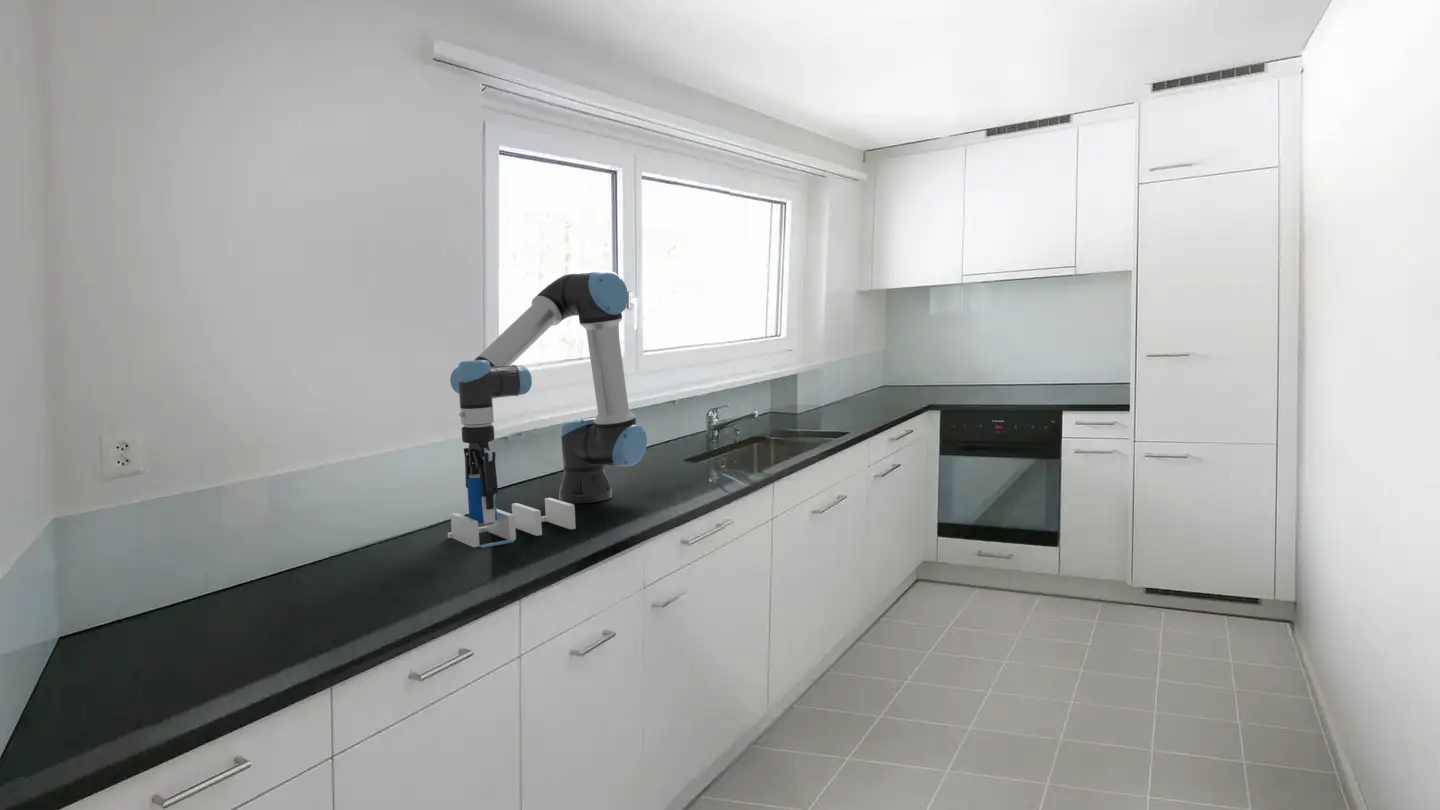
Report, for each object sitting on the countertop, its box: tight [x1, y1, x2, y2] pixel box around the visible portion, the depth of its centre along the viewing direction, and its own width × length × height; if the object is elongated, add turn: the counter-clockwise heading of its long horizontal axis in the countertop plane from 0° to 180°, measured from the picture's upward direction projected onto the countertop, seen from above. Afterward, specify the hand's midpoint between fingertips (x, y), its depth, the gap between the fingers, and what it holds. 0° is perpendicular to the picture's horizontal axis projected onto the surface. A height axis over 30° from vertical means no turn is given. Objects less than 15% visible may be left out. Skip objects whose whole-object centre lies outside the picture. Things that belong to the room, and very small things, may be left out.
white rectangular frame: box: [447, 497, 577, 548], centre depth 239 cm, size 28×14×6 cm, turn 126°
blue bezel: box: [479, 539, 515, 549], centre depth 228 cm, size 8×2×1 cm, turn 126°
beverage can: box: [466, 474, 498, 527], centre depth 233 cm, size 6×6×12 cm
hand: (483, 520), depth 234 cm, fingers closed on beverage can, 6 cm apart
